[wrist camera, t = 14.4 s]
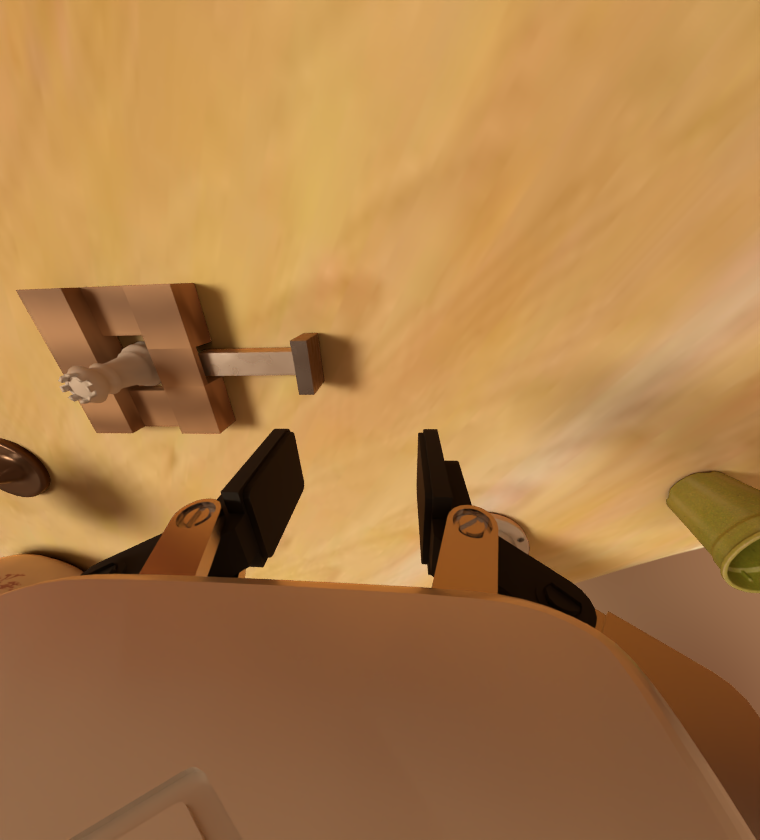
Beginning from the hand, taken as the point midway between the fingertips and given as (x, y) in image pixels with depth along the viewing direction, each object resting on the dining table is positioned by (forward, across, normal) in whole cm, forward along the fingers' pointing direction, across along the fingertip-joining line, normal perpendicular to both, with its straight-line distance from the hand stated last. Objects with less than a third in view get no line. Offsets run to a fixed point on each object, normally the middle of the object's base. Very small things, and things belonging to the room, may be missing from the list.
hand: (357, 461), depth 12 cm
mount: (+17, +24, 0) cm, 30 cm away
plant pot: (+18, -35, +16) cm, 42 cm away
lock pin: (+17, +12, 0) cm, 21 cm away
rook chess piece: (+18, +24, 0) cm, 30 cm away
